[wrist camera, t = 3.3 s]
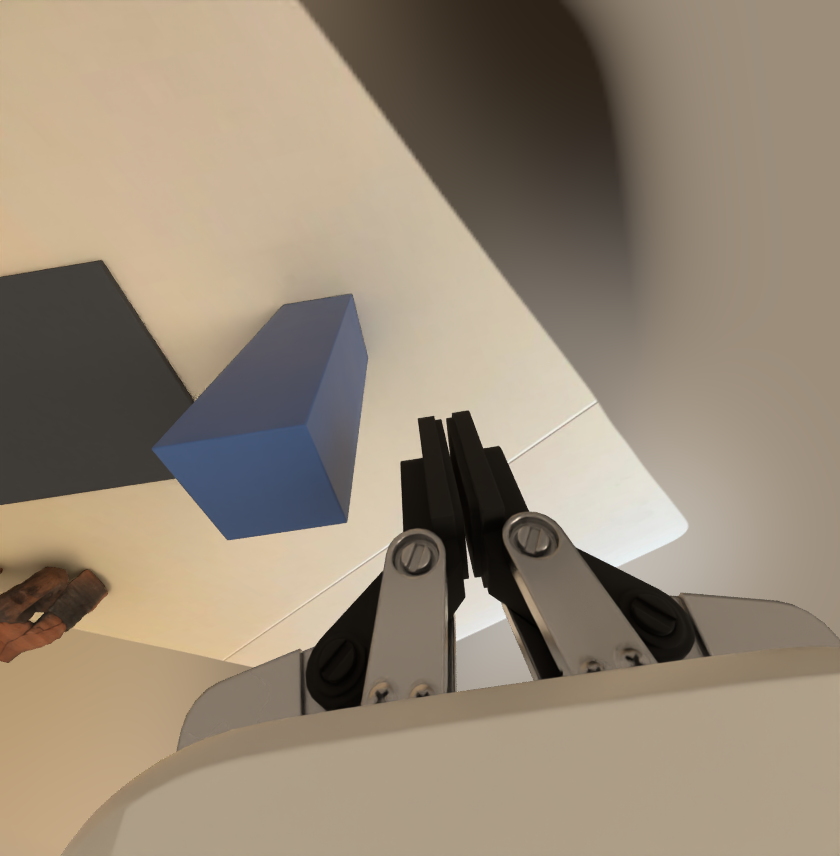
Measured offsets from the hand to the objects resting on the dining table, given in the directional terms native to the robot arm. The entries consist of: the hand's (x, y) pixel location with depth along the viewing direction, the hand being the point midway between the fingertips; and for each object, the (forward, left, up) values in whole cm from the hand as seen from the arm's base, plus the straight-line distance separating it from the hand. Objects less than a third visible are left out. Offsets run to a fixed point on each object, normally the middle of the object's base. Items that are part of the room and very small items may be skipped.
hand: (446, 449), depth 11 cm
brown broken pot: (+21, -42, -13) cm, 49 cm away
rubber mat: (+2, -32, -13) cm, 35 cm away
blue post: (0, -6, -13) cm, 15 cm away
